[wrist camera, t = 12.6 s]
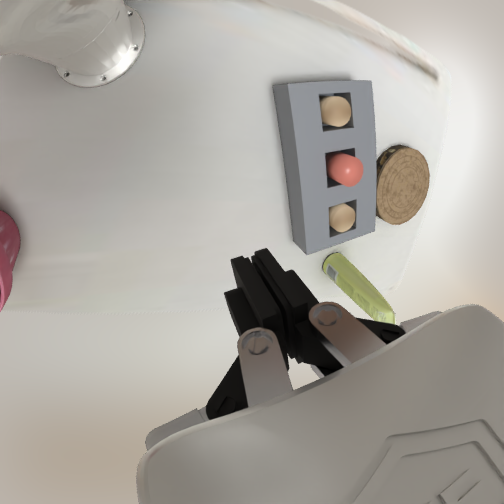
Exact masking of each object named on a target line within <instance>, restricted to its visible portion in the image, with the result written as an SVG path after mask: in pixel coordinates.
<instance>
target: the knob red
mask: <svg viewBox="0 0 504 504" xmlns="http://www.w3.org/2000/svg"><path fill="white" fill-rule="evenodd" d="M325 161H326V174H327V177H329V178H331V179H333V180H335V181H337V182H339V183H341V184H343V185H345V186H347V187H352V186H354V185H356V184H357V183H358V182H359V181H360V180H361V178H362V175H363V165H362V162H361V161H360V160H359V159H358V158H356V157H353V156H350V155H348V154H345V153H342V152H339V151H333V152H330V153H328V154H327V155H326V156H325Z"/></svg>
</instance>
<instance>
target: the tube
mask: <svg viewBox="0 0 504 504" xmlns="http://www.w3.org/2000/svg"><path fill="white" fill-rule="evenodd" d="M323 270H324V272H325V273H326V274H327V275H328V277H329V278H330V279H331V280H332V281H333V282H334V283H336V284H337V285H338V286H339V287H340V288H341V289H342V290H343V291H344V292H345V293H346V294H347V295H348V296H349V297H350V298H351V299H352V300H353V301H354V302H355V303H356V304H357V305H359V307H360V308H362V309H363V310H364V311H365V312H366V313H367V314H368V315H369V316H370V317H371V318H373V319H374V320H375V321H379V322H385V323H391V324H395V325H396V315H395V313H394V311H393V310H392V308H391V306H390V305H389V304H388V303H387V301H386V300H385V299H384V297H383V296H382V295H381V294H380V293H379V292H378V290H377V289H376V288H375V287H374V286H373V285H372V284H371V283H370V282H369V281H368V280H367V278H366V277H365V276H364V275H363V274H362V273H361V272H360V271H359V270H358V269H357V268H356V267H355V266H354V265H353V264H351V263H350V262H349V261H348V260H347V259H346V258H345V257H344V256H343V255H342V254H340V253H334V254H331V255H330V256H329V257H328V258H327V259H326V260H325V262H324V264H323Z"/></svg>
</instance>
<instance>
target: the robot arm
mask: <svg viewBox="0 0 504 504" xmlns="http://www.w3.org/2000/svg"><path fill="white" fill-rule="evenodd" d="M130 14H132V16H129V15H130ZM144 40H145V28H144V24H143V21H142V19H141V17H140V16H139V14H138V13H137V12H136V11H135V10H134V9H132V8H131V7H129V6H127V5H125V4H124V1H123V0H0V56H1V55H7V54H19V55H24V56H27V57H31V58H34V59H37V60H40V61H43V62H46V63H49V64H52V65H55V68H56V70H57V72H58V74H59V75H60V76H61V77H62V78H63V79H64V80H65V81H67V82H68V83H70V84H72V85H75V86H78V87H90V88H91V87H98V86H102V85H105V84H108V83H110V82H112V81H114V80H116V79H117V78H119V77H120V76H122V75H123V74H124V73H125V72H127V71H128V70H129V69H130V68H131V67H132V65H133V64H134V63H135V62H136V60H137V59H138V57H139V55H140V53H141V51H142V48H143V45H144ZM135 48H138V50H136V51H135V50H134V49H135ZM68 73H70V74H69V76H67V74H68ZM104 77H106V80H105V81H104V80H103V78H104ZM251 259H252V263H251V261H250V259H249V258H248V257H247V258H244V257H243V256H240V257H237V258H234V259H231V264H232V268H233V272H234V276H235V280H236V284H237V288H236V289H233V290H230V291H227V292H224V295H225V298H226V302H227V305H228V308H229V311H230V314H231V317H232V319H233V322H234V325H235V327H236V330H237V332H238V335H239V337H240V338H239V340H238V342H237V344H238V345H237V348H238V353H239V355H238V357H237V358H236V360H235V362H234V363H233V364H232V366H231V368H230V369H229V371H228V372H227V374H226V375H225V377H224V378H223V380H222V381H221V383H220V384H219V386H218V388H217V389H216V390H215V392H214V393H213V395H212V397H211V398H210V399H209V401H208V403H207V405H206V406H205V407H203V408H202V409H200V410H197V408H196V409H194V410H192V411H191V412H189V413H186V414H184V415H182V416H180V417H179V418H176V419H174V420H172V421H170V422H168V423H166V424H164V425H162V426H159V427H157V428H155V429H154V430H152V431H151V432H150V433H149V434H148V436H147V437H146V441H145V444H146V448H147V450H148V451H147V452H146V453H145V455H144V456H143V457H142V458H141V460H140V462H139V464H138V468H137V476H136V479H137V480H136V483H137V494H138V502H139V504H504V322H502V321H501V320H500V319H499V318H498V317H497V316H495V315H494V314H493V313H492V312H490V311H489V310H487V309H486V308H484V307H482V306H479V305H475V304H471V305H463V306H458V307H455V308H452V309H449V310H447V311H444V312H439V311H437V312H432V313H429V314H426V315H423V316H420V317H417V318H414V319H411V320H408V321H404V322H401V323H400V325H399V326H398V325H395V324H391V323H385V322H379V321H372V320H367V319H361V318H355V317H354V316H353V315H351V314H350V313H349V312H348V311H347V310H346V309H345V308H343V307H342V306H341V305H339V304H337V303H334V302H322V303H319V302H318V300H317V299H316V298H315V297H314V295H313V294H312V293H311V291H310V290H309V289H308V288H307V286H306V285H305V284H304V283H303V281H302V280H301V279H300V278H299V276H298V275H297V274H296V273H295V271H294V270H289V271H286V272H285V271H284V270H283V269H282V267H281V266H280V265H279V263H278V262H277V261H276V259H275V258H274V257H273V255H272V254H271V253H270V251H269V250H268V249H267V248H265V249H262V250H258V251H255V255H253V256H251ZM287 353H288V355H289V357H290V358H291V359H293V358H295V359H296V361H297V362H298V364H299V363H301V362H304V363H307V364H310V365H311V368H312V369H313V371H314V372H315V373H316V374H317V375H318V376H319V378H320V379H319V380H316V381H314V382H312V383H310V384H307V385H305V386H303V387H300V388H298V389H296V390H293V388H292V385H291V382H290V378H289V375H288V370H289V364H288V355H287Z"/></svg>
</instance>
